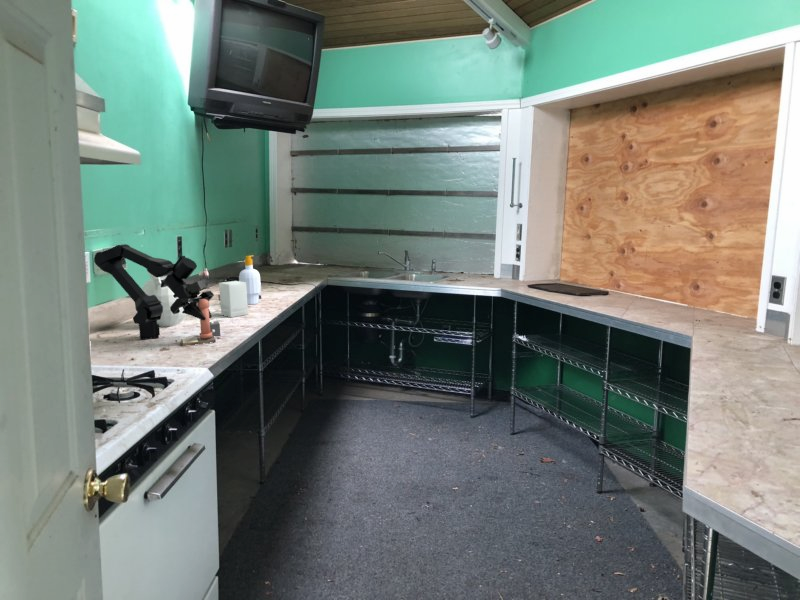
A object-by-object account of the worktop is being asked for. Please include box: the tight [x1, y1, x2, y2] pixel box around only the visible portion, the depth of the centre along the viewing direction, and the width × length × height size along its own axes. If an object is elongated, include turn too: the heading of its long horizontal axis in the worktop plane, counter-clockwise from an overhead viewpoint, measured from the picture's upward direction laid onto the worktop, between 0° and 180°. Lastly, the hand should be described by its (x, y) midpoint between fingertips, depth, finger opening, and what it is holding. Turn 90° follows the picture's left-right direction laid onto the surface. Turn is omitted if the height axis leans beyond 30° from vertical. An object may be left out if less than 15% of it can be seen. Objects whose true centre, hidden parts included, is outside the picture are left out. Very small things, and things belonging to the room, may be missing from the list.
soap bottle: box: [238, 255, 262, 306], centre depth 271 cm, size 10×10×24 cm
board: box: [180, 336, 217, 347], centre depth 198 cm, size 11×7×1 cm, turn 116°
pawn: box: [198, 299, 212, 339], centre depth 197 cm, size 4×4×14 cm
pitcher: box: [141, 270, 188, 327], centre depth 227 cm, size 19×18×25 cm
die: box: [210, 321, 221, 337], centre depth 207 cm, size 5×6×6 cm
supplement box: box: [218, 280, 249, 318], centre depth 245 cm, size 9×9×15 cm
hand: (208, 318), depth 197 cm, fingers closed on pawn, 3 cm apart
